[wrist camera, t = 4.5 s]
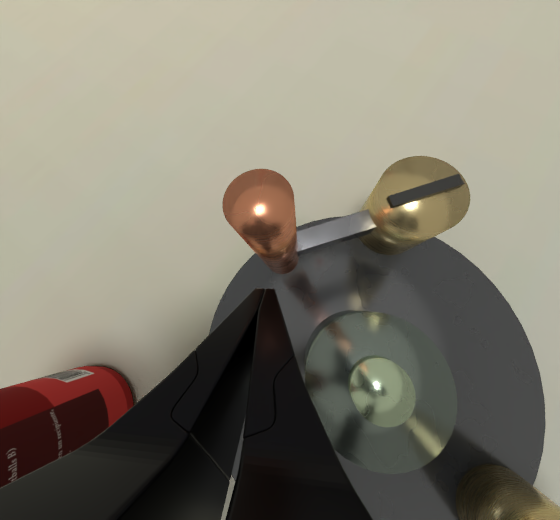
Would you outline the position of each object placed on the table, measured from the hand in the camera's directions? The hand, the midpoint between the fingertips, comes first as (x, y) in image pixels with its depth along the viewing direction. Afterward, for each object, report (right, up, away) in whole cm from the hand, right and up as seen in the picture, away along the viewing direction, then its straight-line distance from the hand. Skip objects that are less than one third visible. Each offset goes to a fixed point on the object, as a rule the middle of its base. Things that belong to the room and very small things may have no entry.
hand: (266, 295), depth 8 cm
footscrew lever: (+5, +3, +6) cm, 9 cm away
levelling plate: (+6, -6, +6) cm, 10 cm away
